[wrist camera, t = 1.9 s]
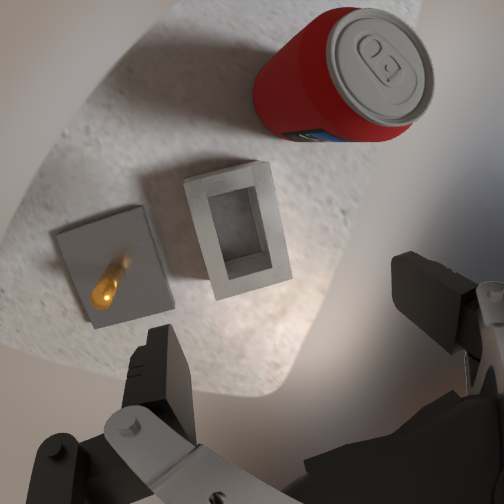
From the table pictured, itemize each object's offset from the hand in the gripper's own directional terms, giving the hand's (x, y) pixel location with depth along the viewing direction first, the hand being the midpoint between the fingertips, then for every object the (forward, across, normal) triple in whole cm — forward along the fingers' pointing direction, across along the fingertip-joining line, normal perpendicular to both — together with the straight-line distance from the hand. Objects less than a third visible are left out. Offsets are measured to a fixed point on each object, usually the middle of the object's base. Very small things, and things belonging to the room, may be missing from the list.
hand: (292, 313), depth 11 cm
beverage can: (+14, -6, -8) cm, 17 cm away
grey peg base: (+14, +10, +1) cm, 17 cm away
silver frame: (+14, 0, 0) cm, 14 cm away
